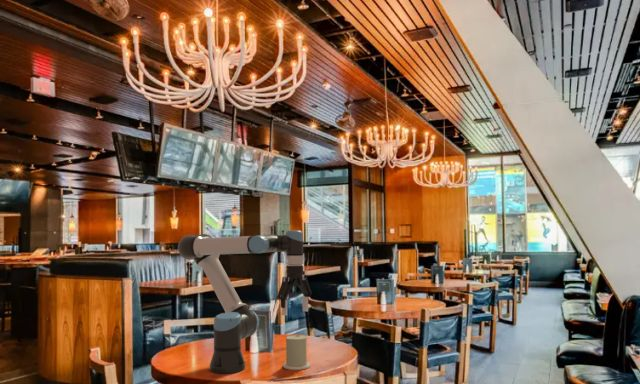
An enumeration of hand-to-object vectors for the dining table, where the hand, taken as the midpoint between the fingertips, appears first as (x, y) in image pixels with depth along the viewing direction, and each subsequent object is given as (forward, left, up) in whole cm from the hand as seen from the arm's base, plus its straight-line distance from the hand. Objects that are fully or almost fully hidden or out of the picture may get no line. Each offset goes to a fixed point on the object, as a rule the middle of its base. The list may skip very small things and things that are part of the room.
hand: (295, 313), depth 228 cm
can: (0, -1, -22) cm, 22 cm away
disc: (0, -1, -23) cm, 23 cm away
